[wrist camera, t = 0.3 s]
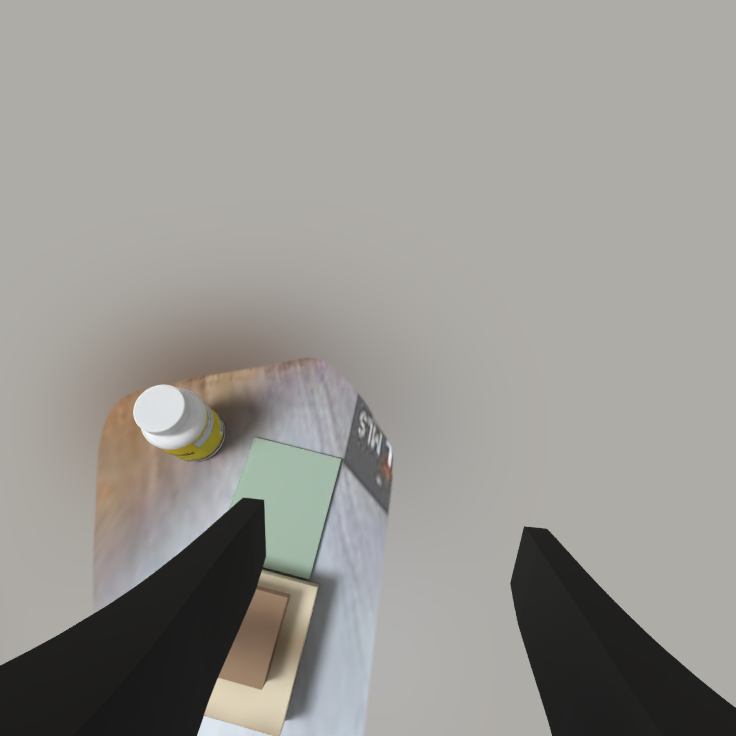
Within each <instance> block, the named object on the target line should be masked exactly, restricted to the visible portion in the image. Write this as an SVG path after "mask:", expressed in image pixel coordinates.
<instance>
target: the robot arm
mask: <svg viewBox="0 0 736 736" xmlns="http://www.w3.org/2000/svg"><path fill="white" fill-rule="evenodd" d="M265 559H266V536H265V506H264V500H263V499H253V498H242V499H241V500H239V501H238V502H237V503H236V504H235V505H234V506H233V507H232V508H230V509H229V510H228V511H227V512H226V513H225V514H224V515H223V516H222V517H220V518H219V519H218V520H217V521H216V522H215V523H214V524H213V525H212V526H210V527H209V528H208V529H207V530H206V531H205V532H204V533H202V534H201V535H200V536H199V537H198V538H197V539H195V540H194V541H193V542H192V543H191V544H190V545H188V546H187V547H186V548H185V549H184V550H182V551H181V552H180V553H179V554H178V555H176V556H175V557H174V558H172V559H171V560H170V561H169V562H167V563H166V564H165V565H164V566H162V567H161V568H160V569H158V570H157V571H156V572H155V573H153V574H152V575H151V576H149V577H148V578H147V579H145V580H144V581H143V582H141V583H140V584H138V585H137V586H136V587H134V588H133V589H131V590H130V591H128V592H127V593H125V594H124V595H122V596H121V597H120V598H118V599H117V600H115V601H114V602H112V603H110V604H109V605H107V606H106V607H104V608H103V609H101V610H99V611H98V612H96V613H94V614H93V615H91V616H90V617H88V618H86V619H84V620H83V621H81V622H79V623H78V624H76V625H74V626H73V627H71V628H69V629H68V630H66V631H64V632H63V633H61V634H59V635H57V636H56V637H54V638H52V639H50V640H48V641H46V642H45V643H43V644H41V645H39V646H37V647H35V648H34V649H32V650H30V651H28V652H26V653H24V654H22V655H20V656H18V657H16V658H14V659H12V660H10V661H8V662H6V663H5V664H3V665H1V666H0V736H197V734H198V731H199V728H200V725H201V722H202V719H203V716H204V714H205V711H206V708H207V705H208V702H209V699H210V697H211V694H212V692H213V689H214V686H215V684H216V681H217V679H218V677H219V674H220V672H221V670H222V667H223V665H224V663H225V661H226V658H227V656H228V654H229V651H230V649H231V647H232V645H233V642H234V640H235V638H236V636H237V633H238V631H239V629H240V626H241V624H242V622H243V619H244V617H245V615H246V613H247V610H248V608H249V606H250V603H251V601H252V599H253V596H254V594H255V591H256V588H257V585H258V582H259V578H260V575H261V572H262V569H263V565H264V562H265ZM510 584H511V590H512V595H513V601H514V606H515V611H516V616H517V621H518V625H519V629H520V632H521V635H522V639H523V642H524V645H525V648H526V652H527V654H528V658H529V661H530V664H531V668H532V671H533V674H534V677H535V680H536V684H537V687H538V690H539V693H540V696H541V699H542V703H543V706H544V709H545V712H546V716H547V719H548V722H549V726H550V729H551V733H552V736H736V708H735V707H734V706H732V705H731V704H730V703H728V702H727V701H726V700H725V699H723V698H722V697H721V696H720V695H718V694H717V693H716V692H715V691H713V690H712V689H711V688H710V687H708V686H707V685H706V684H705V683H704V682H702V681H701V680H700V679H699V678H697V677H696V676H695V675H694V674H693V673H692V672H690V671H689V670H688V669H687V668H686V667H685V666H683V665H682V664H681V663H680V662H679V661H678V660H677V659H675V658H674V657H673V656H672V655H671V654H670V653H668V652H667V651H666V650H665V649H664V648H663V647H661V645H659V644H658V643H657V642H656V641H655V640H654V639H653V638H652V637H651V636H649V634H647V633H646V632H645V631H644V630H643V629H642V628H641V627H640V626H639V625H638V624H637V623H636V622H635V621H634V620H633V619H632V618H631V617H630V616H629V615H628V614H627V613H626V612H625V611H624V610H623V609H622V608H621V607H620V606H619V605H618V604H617V603H616V602H614V600H613V599H612V598H611V597H610V596H609V595H608V594H607V593H606V592H605V591H604V590H603V589H602V588H601V587H600V586H599V585H598V584H597V583H596V582H595V581H594V580H593V578H592V577H591V576H590V575H589V574H588V573H587V572H586V571H585V570H584V569H583V568H582V567H581V565H580V564H579V563H578V562H577V561H576V560H575V559H574V558H573V557H572V556H571V554H570V553H569V552H568V551H567V550H566V549H565V548H564V547H563V546H562V544H561V543H560V542H559V541H558V540H557V539H556V538H555V537H554V536H553V535H552V534H551V533H550V531H548V530H547V529H543V528H534V527H524V529H523V533H522V538H521V542H520V546H519V550H518V554H517V558H516V562H515V566H514V570H513V575H512V579H511V583H510Z"/></svg>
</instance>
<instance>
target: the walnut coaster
mask: <svg viewBox="0 0 736 736" xmlns="http://www.w3.org/2000/svg"><path fill="white" fill-rule="evenodd" d="M290 596H291V595H290V594H286V593H282V592H279V591H275V590H271V589H268V588H264V587H260V586H257V588H256V591H255V594H254V596H253V599H252V601H251V603H250V606H249V608H248V610H247V613H246V615H245V617H244V619H243V622H242V624H241V626H240V629H239V631H238V633H237V636H236V638H235V640H234V642H233V645H232V647H231V649H230V651H229V654H228V656H227V658H226V661H225V663H224V665H223V667H222V670H221V672H220V674H219V677H218V678H221V679H224V680H228V681H231V682H235V683H239V684H242V685H246V686H249V687H253V688H256V689H260V690H262V689H263V687H264V685H265V684H266V682H267V678H268V675H269V671H270V668H271V664H272V660H273V657H274V653H275V650H276V646H277V642H278V639H279V635H280V632H281V628H282V624H283V621H284V617H285V614H286V610H287V606H288V603H289V599H290Z"/></svg>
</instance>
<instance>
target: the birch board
mask: <svg viewBox="0 0 736 736" xmlns="http://www.w3.org/2000/svg"><path fill="white" fill-rule="evenodd" d="M319 585H320V584H316V583H313V582H309V581H305V580H301V579H298V578H294V577H290V576H287V575H283V574H279V573H275V572H272V571H268V570H264V569H262V572H261V575H260V578H259V582H258V585H257V586H260V587H264V588H268V589H271V590H275V591H279V592H282V593H286V594H290V595H291V596H290V599H289V603H288V606H287V610H286V614H285V617H284V621H283V624H282V628H281V632H280V635H279V639H278V642H277V646H276V650H275V653H274V657H273V660H272V664H271V668H270V671H269V675H268V678H267V682H266V684H265V685H264V687H263V689H262V690H260V689H256V688H253V687H249V686H246V685H242V684H239V683H235V682H231V681H228V680H224V679H221V678H218V679H217V681H216V684H215V686H214V689H213V692H212V694H211V697H210V699H209V702H208V705H207V708H206V711H205V714H204V716H206V717H210V718H213V719H217V720H220V721H224V722H227V723H231V724H234V725H238V726H241V727H245V728H248V729H252V730H255V731H259V732H262V733H266V734H269V735H272V736H280V734H281V731H282V728H283V725H284V722H285V719H286V715H287V711H288V707H289V703H290V699H291V695H292V691H293V687H294V683H295V679H296V676H297V672H298V668H299V664H300V660H301V656H302V652H303V648H304V644H305V640H306V636H307V632H308V628H309V625H310V621H311V617H312V613H313V609H314V605H315V601H316V597H317V593H318V589H319Z"/></svg>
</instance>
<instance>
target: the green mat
mask: <svg viewBox="0 0 736 736" xmlns="http://www.w3.org/2000/svg"><path fill="white" fill-rule="evenodd" d="M340 463H341V459H339V458H335V457H332V456H328V455H324V454H320V453H316V452H312V451H308V450H304V449H300V448H296V447H292V446H288V445H284V444H280V443H276V442H272V441H268V440H264V439H260V438H256V437H255V438H254V441H253V443H252V446H251V449H250V452H249V455H248V457H247V460H246V463H245V466H244V469H243V471H242V474H241V477H240V480H239V482H238V485H237V488H236V491H235V494H234V496H233V499H232V502H231V505H230V508H232V507H233V506H234V505H235V504H236V503H237V502H238V501H239V500H241V499H242V498H253V499H263V500H264V506H265V536H266V559H265V562H264V565H263V567H265V568H268V569H272V570H276V571H280V572H283V573H287V574H291V575H295V576H298V577H302V578H306V579H310V576H311V572H312V568H313V565H314V561H315V557H316V553H317V549H318V546H319V542H320V538H321V534H322V531H323V527H324V523H325V519H326V515H327V512H328V508H329V504H330V500H331V497H332V493H333V489H334V485H335V481H336V478H337V474H338V470H339V466H340ZM230 508H229V509H230Z"/></svg>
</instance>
